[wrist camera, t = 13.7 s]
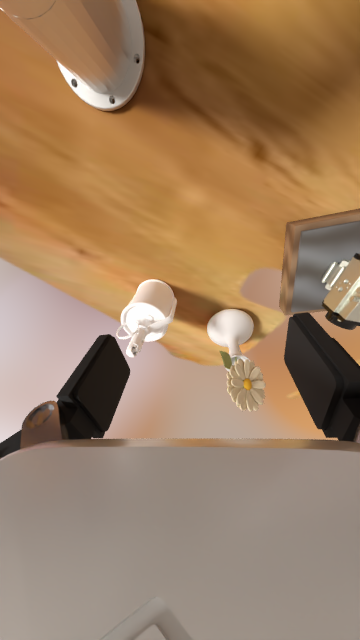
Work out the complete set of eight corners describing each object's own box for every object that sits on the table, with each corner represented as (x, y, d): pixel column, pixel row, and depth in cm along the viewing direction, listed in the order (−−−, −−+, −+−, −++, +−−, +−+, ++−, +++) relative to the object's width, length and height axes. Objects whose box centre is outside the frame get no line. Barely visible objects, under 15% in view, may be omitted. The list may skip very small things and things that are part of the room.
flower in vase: (258, 333, 50) (298, 433, 29) (217, 346, 54) (227, 443, 33) (240, 292, 44) (276, 381, 23) (196, 311, 48) (193, 401, 27)
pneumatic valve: (369, 242, 32) (445, 265, 22) (327, 302, 39) (371, 340, 29) (337, 235, 32) (399, 255, 22) (300, 297, 39) (335, 333, 29)
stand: (286, 222, 36) (296, 226, 32) (360, 208, 33) (381, 210, 30) (279, 306, 45) (286, 316, 41) (336, 299, 43) (349, 309, 39)
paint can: (146, 316, 50) (119, 377, 34) (130, 284, 46) (90, 337, 29) (184, 307, 48) (175, 368, 31) (171, 272, 43) (153, 323, 26)
